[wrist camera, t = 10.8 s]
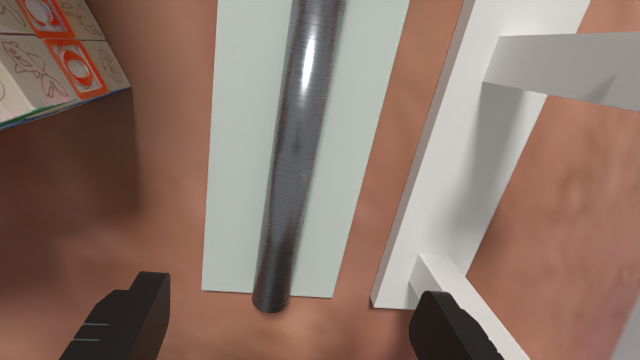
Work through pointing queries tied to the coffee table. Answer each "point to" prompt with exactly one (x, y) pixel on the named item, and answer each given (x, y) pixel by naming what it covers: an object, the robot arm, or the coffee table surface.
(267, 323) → the coffee table surface
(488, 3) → the rack
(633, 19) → the coffee table surface
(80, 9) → the stack of blocks
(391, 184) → the coffee table surface
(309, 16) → the rail
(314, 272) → the mat
